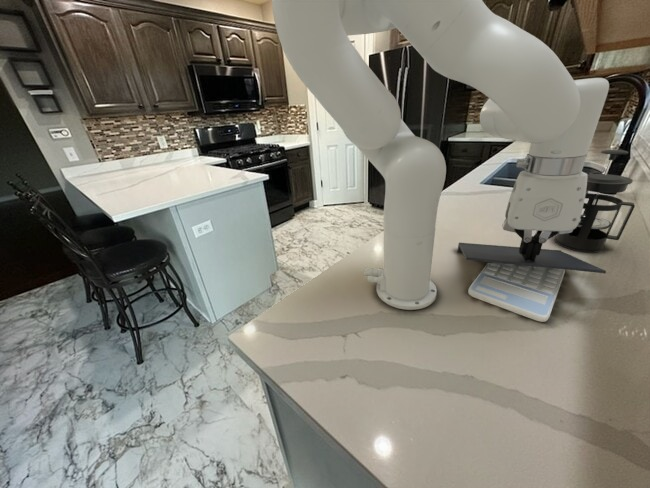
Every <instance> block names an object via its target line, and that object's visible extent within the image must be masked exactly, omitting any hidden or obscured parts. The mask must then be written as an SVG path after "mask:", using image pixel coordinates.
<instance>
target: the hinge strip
mask: <svg viewBox="0 0 650 488" xmlns="http://www.w3.org/2000/svg"><path fill="white" fill-rule="evenodd" d="M459 244H471V245H483V246H496V247H509V248H520V246H509V245H495V244H483V243H482V244H481V243H470V242H469V243H468V242H458V244H457V253H462V251H461V249H460V247H459ZM541 250H547V251H560V252H563V251H562V250H560V249H549V248H548V249H547V248H541Z"/></svg>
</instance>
